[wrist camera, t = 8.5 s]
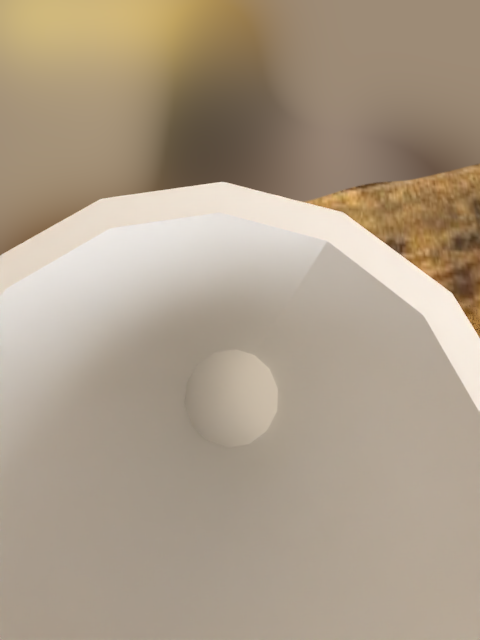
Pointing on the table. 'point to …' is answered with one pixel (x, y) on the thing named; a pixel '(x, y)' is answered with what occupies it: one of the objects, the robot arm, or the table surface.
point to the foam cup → (233, 429)
